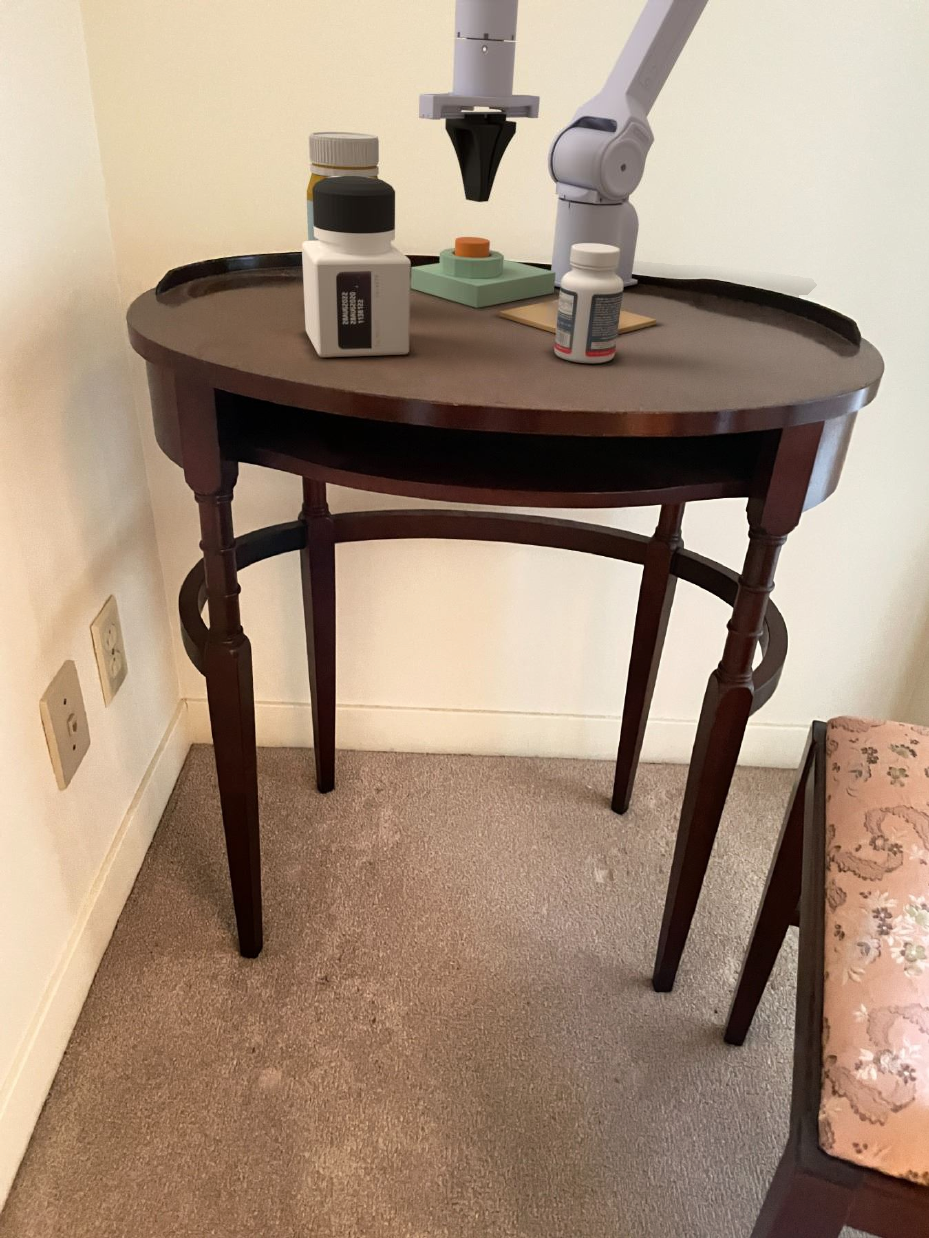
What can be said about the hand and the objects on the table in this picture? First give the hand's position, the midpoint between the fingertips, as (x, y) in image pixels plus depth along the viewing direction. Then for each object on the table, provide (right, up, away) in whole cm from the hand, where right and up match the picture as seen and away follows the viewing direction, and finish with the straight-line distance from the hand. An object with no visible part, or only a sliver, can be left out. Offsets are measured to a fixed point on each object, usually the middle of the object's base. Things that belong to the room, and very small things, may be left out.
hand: (477, 200), depth 90 cm
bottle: (-13, -12, -3) cm, 18 cm away
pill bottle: (+9, -19, -12) cm, 25 cm away
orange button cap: (0, -4, +3) cm, 6 cm away
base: (+1, -7, +7) cm, 9 cm away
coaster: (+10, -13, -2) cm, 16 cm away
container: (-11, -19, -13) cm, 25 cm away
